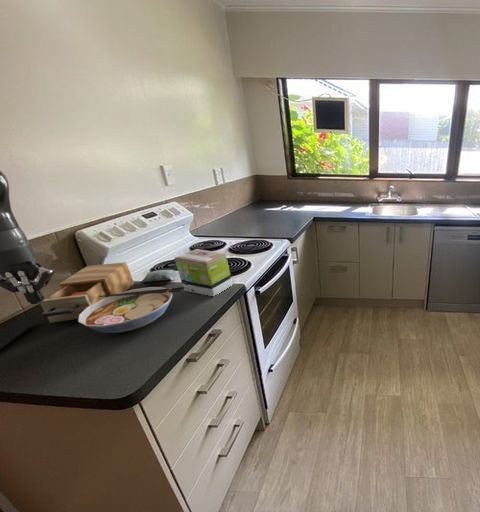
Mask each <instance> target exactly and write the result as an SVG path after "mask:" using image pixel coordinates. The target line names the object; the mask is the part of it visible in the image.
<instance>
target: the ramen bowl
mask: <svg viewBox="0 0 480 512" xmlns="http://www.w3.org/2000/svg"><path fill="white" fill-rule="evenodd" d="M183 290H184V287H183V286H178V287H170V288H166V287H163V286H149V287H140V288H134V289H130V290H127V291H125V292H122V293H118V294H111V296H110V297H108V296H109V295H102V296H99V297H107V298H105V299H102V300H100V301H98V302H96V303H94V304H92V305H91V306H89V307H87V308H86V309H85V310H84V311H83V312H82V313H81V314H80V315H79V319H77V322H78V323H79V324H81V325H83V326H85V327H87V328H89V329H91V330H94V331H95V332H99V333H111V334H119V333H124V332H125V333H126V332H130V331H134V330H137V329H140V328H143V327H145V326H147V325H149V324H151V323H154V321H156V320H157V319H159V318H160V317H161V316H162V315H163V314H164V313H165V312H166V310H167V309H168V307H169V305H170V304H171V301H172V300H173V293H181V292H182V291H183Z"/></svg>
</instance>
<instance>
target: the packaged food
mask: <svg viewBox="0 0 480 512" xmlns="http://www.w3.org/2000/svg"><path fill="white" fill-rule="evenodd" d="M177 276H179V272H178V270H174V269H160V270H159V269H158V270H153V271H149V272H148V273H147V274H146V275H145V276H144V278H143V279H142V280H141V281H139V284H142V285H145V286H155V285H164V284H169V283H171V282H175V280H174V279H175V278H176V277H177Z"/></svg>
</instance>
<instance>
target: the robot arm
mask: <svg viewBox="0 0 480 512" xmlns="http://www.w3.org/2000/svg"><path fill="white" fill-rule="evenodd" d="M11 205H12V204H11V198H10V183H9V180H8V177H7V176H6V174H5V173H4V172H3V171H1V170H0V287H1V288H3V289H5V290H7V291H8V292H10V293H12V294H13V293H14V294H15V293H20V294H23V296H24V298H25V299H26V301H27V302H28V303H29V304H31V305H38V304H40V303H41V302H42V301H43V299H45V296H44V294H43V292H42V289H44V288H45V287H46V286H48V285H49V282H50V281H51V280H52V277H53V275H54V274H55V271H56V270H55V269H54V268H49V269H48V268H45V267H43V266H42V264H41V263H40V262H38V260H37V255H36V253H35V251H34V249H33V246H31V243H30V241H29V239H28V237H27V236H26V233H25V232H24V231H23V230H22V228H21V226H20V224H19V222H18V221H17V219H16V217H15V215H14V213H13V210H12V206H11Z"/></svg>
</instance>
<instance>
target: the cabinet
mask: <svg viewBox="0 0 480 512" xmlns="http://www.w3.org/2000/svg"><path fill="white" fill-rule="evenodd" d="M99 281H103V283H104V285H105V287H106V290H107V292H108V295H109V297H110V296H111V294H118V293H122V292H126V291H129V289H131V287H132V286H133V285H134V284H135V281H134V278H133V276H132V274H131V270H130V268H129V266H128V262H127V261H123V262H113V263H103V264H93V265H86V266H85V267H83V268H81V269H80V270H79V271H77V272H76V273H74V274H72V275H70V276H69V277H68V278H66V279H64V280H63V281H61V282H59V286H60V288H61V289H62V288H64V287H65V286H67V285H72V284H81V283H90V282H99Z"/></svg>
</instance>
